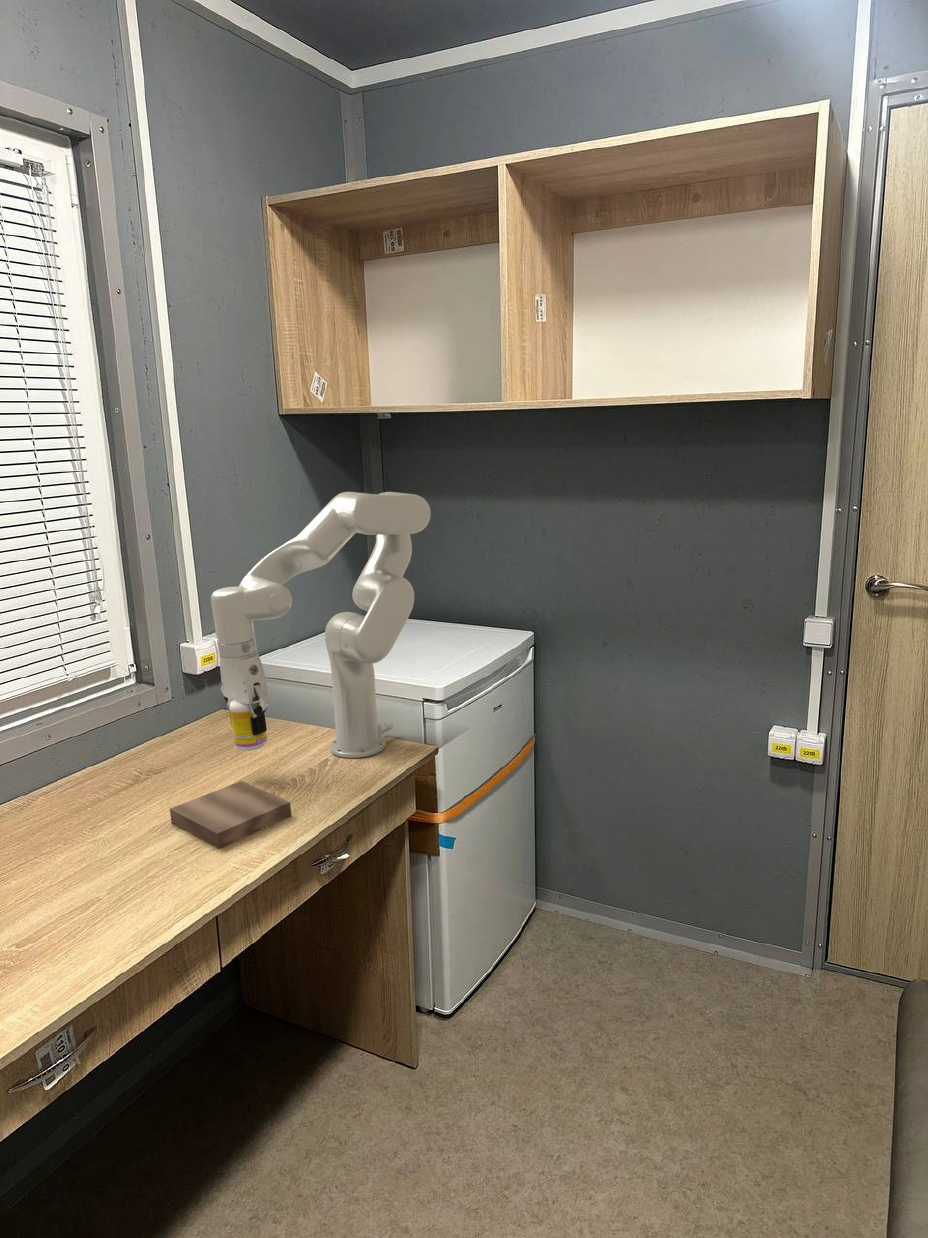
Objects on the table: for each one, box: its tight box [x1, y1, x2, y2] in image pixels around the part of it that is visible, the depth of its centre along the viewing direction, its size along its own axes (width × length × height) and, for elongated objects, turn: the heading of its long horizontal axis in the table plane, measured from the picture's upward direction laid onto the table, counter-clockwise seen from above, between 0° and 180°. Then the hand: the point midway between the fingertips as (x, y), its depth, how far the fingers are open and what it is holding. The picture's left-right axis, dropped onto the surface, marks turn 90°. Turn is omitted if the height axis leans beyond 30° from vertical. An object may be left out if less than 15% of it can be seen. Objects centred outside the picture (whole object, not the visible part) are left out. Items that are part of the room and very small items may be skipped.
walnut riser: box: [169, 780, 292, 850], centre depth 166 cm, size 16×16×3 cm
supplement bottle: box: [229, 693, 268, 752], centre depth 181 cm, size 7×7×13 cm
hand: (249, 729), depth 182 cm, fingers closed on supplement bottle, 6 cm apart
